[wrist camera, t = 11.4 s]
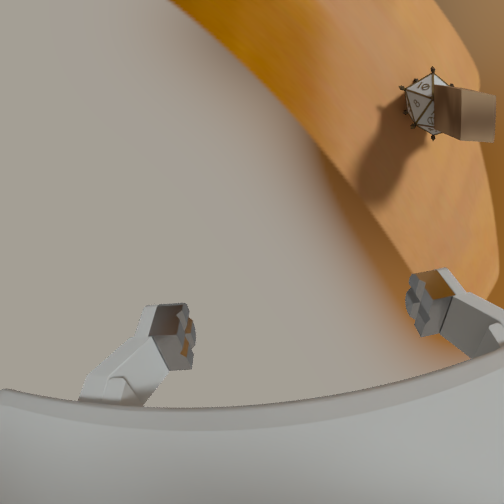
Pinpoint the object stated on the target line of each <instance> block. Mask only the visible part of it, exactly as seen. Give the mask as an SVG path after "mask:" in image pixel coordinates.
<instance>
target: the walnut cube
mask: <svg viewBox="0 0 504 504" xmlns="http://www.w3.org/2000/svg"><path fill="white" fill-rule="evenodd" d="M495 117H496V96H494V95H490V94H486V93H482V92H478V91H474V90H469V89H463V88H457V87H450V86H443V85H435V84H434V129H435V130H437V131H440V132H442V133H445V134H447V135H449V136H452V137H454V138H456V139H458V140H462V141H479V142H492V143H494V135H495Z"/></svg>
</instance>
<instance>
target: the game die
mask: <svg viewBox="0 0 504 504" xmlns="http://www.w3.org/2000/svg"><path fill="white" fill-rule="evenodd" d="M431 72H432V73H430V74H429V75H427V76H425V77H424V78H422V79H420V80H418V79H415V80H414V81H415V83H413V84H412V85H410V86H408V87H407V88H404V86H402V85H401V86H399V88H400V90H404V91H405V97H406V104H407V111H406V110H405V111H404V112H403V114H405V115H406V114H408V113H409V115H410V117H411V119H412V120H413V122H414V124H412V125H411V129H413V128H414V129H415V127H416V125H417V126H418V127H420V128H422V129H423V130H425V131H427V132H429V133H430V134H432V136H431V139H432V140H433V141H434V139H435V136H434V135H437V134H440V133H442V132H440V131H437V130H435V129H434V84H435V85H443V86H449V85H448V84H447V83H446V82H444V81H443V80H442V79H441V78H440V77H438V76H437V75H436V74H435V73H434V72H435V68H434V67H433V66H432V67H431ZM450 87H454V85H453V84H450Z"/></svg>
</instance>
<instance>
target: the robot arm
mask: <svg viewBox="0 0 504 504" xmlns="http://www.w3.org/2000/svg"><path fill="white" fill-rule="evenodd" d="M409 284H410V286H411V288H410V289H409V290H408V291H407V293H406V299H405V301H406V309H407V312H408V314H409V315H410V317H412V318H413V319H415V324H414V325H415V327H416V329H417V331H418V332H419V334H420V336H421V337H424V336H429V335H433V334H437V333H440V335H442V336H443V337H444V338H445V339H447V340H448V341H449V342H451V343H452V344H453V345H455V346H456V347H457V348H458V349H460V350H461V351H462V352H464V353H465V354H466V355H468V356H469V357H470V358H471V359H470V360H467V361H464V362H461V363H458V364H455V365H452V366H450V367H446V368H443V369H440V370H437V371H433V372H430V373H427V374H423V375H420V376H416V377H412V378H409V379H405V380H401V381H397V382H393V383H389V384H385V385H380V386H376V387H372V388H367V389H362V390H358V391H352V392H347V393H342V394H336V395H330V396H324V397H317V398H311V399H303V400H296V401H288V402H279V403H270V404H259V405H247V406H231V407H205V408H160V407H159V408H158V407H156V408H155V407H144V406H143V404H144V403H145V402H146V401H147V399H148V398H149V397H150V396H151V395H152V393H153V392H154V391H155V390H156V388H157V387H158V386H159V384H160V383H161V382H162V381H163V379H164V378H165V377H166V376H167V374H168V373H169V371H171V370H189V369H192V363H193V356H194V354H193V352H192V348H193V347H194V346H195V341H196V333H195V327H194V323H193V320H191V319H190V318H189V309H188V306H187V304H186V303H175V304H159V305H147V306H145V307H144V309H143V312H142V314H141V318H140V320H139V323H138V327H137V329H136V332H135V335H134V337H131V338H129V339H128V340H127V341H126V342H124V343H123V344H122V345H121V346H120V347H119V348H118V349H117V350H115V351H114V352H113V353H112V354H111V355H110V356H108V357H107V358H106V359H105V360H104V361H103V362H102V363H100V364H99V365H98V366H97V367H96V368H95V369H94V370H93V371H91V372H90V373H89V374H88V375H87V377H86V380H85V382H84V385H83V388H82V391H81V393H80V396H79V399H78V401H72V400H65V399H58V398H52V397H46V396H40V395H34V394H30V393H25V392H20V391H16V390H12V389H2V390H0V504H504V310H503V309H502V308H500V307H498V306H496V305H494V304H492V303H490V302H488V301H486V300H484V299H482V298H480V297H478V296H476V295H474V294H472V293H470V292H468V293H466V291H465V290H464V289H463V287H462V286H461V285H460V283H459V282H458V281H457V280H456V278H455V277H454V276H453V275H452V273H451V272H450V271H449V270H448V269H447V268H440V269H435V270H431V271H426V272H420V273H415V274H412V275H411V276H410V279H409Z"/></svg>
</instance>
